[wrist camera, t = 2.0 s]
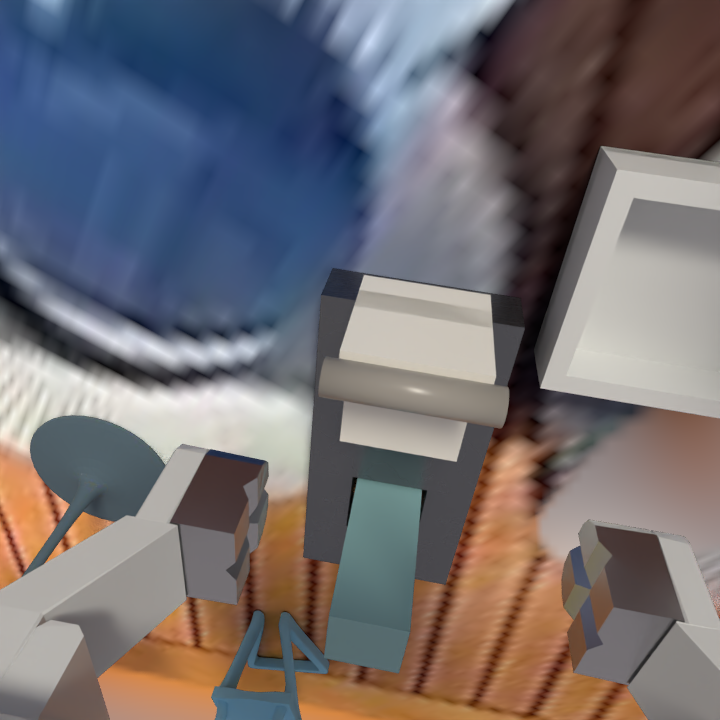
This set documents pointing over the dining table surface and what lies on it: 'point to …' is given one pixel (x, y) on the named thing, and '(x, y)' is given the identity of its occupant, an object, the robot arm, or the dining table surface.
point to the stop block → (375, 578)
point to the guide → (348, 460)
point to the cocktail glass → (92, 471)
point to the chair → (269, 709)
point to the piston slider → (415, 368)
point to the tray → (640, 287)
